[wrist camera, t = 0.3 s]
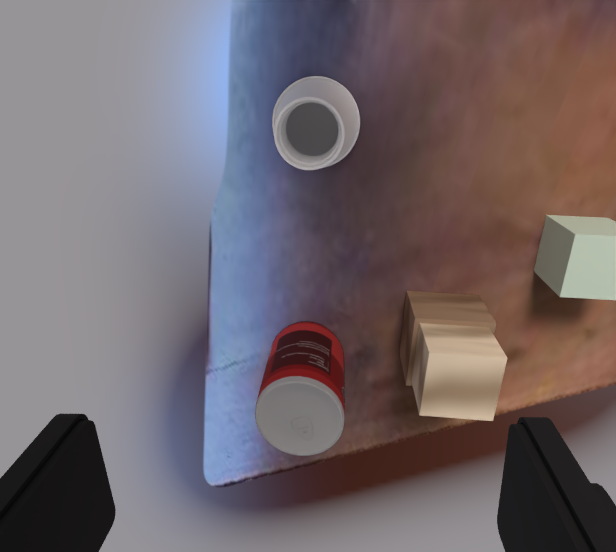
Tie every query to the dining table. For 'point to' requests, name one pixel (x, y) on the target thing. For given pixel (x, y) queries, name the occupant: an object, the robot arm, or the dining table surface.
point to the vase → (315, 123)
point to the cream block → (438, 319)
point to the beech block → (457, 371)
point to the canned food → (302, 391)
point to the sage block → (578, 257)
